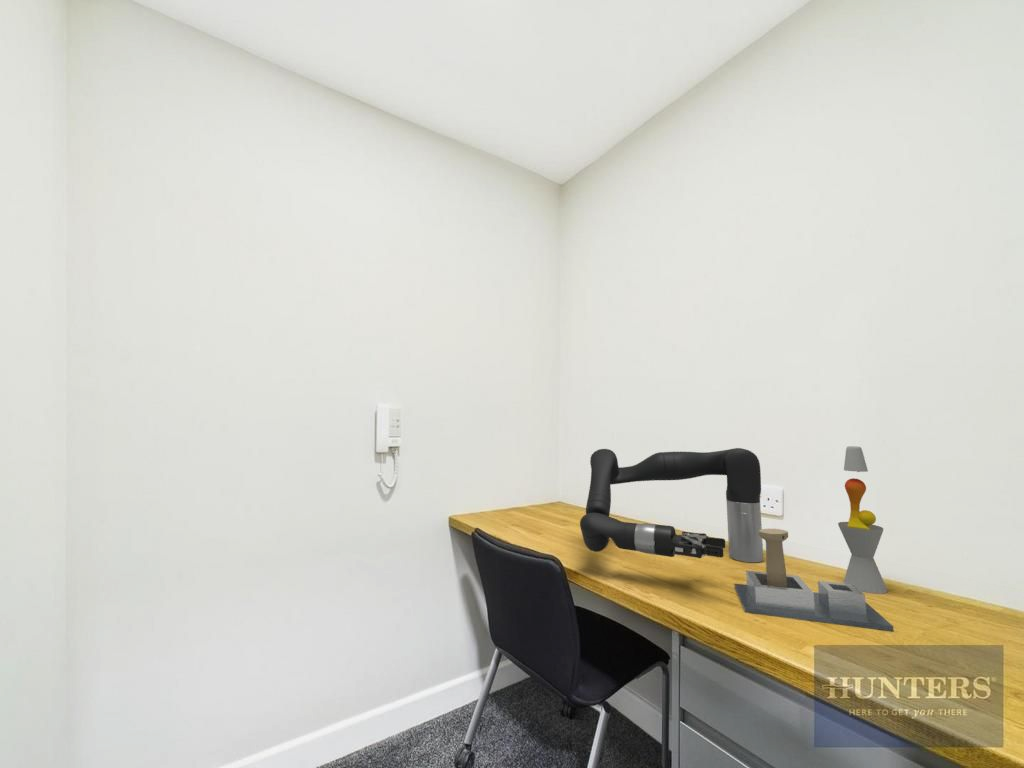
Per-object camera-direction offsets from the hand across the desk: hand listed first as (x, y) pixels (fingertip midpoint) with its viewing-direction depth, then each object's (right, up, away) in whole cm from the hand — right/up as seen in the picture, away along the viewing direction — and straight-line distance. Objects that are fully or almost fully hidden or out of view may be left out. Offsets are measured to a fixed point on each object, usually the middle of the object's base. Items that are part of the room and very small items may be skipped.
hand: (724, 547), depth 103 cm
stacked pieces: (+37, -11, +4) cm, 39 cm away
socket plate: (+14, -10, -8) cm, 19 cm away
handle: (+9, -9, -6) cm, 15 cm away
